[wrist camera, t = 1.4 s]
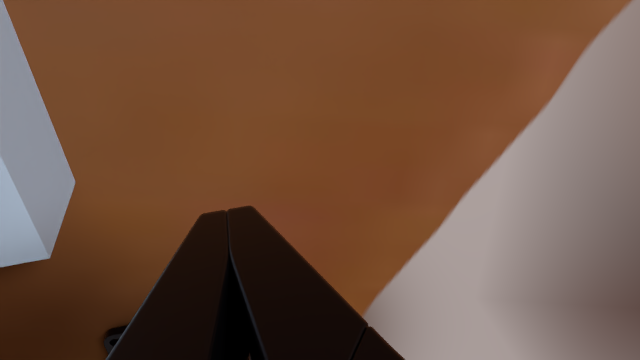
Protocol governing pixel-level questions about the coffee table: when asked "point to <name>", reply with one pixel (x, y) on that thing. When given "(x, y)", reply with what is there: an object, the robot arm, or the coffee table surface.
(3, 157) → the grey stepped block
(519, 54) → the coffee table surface
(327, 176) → the coffee table surface
